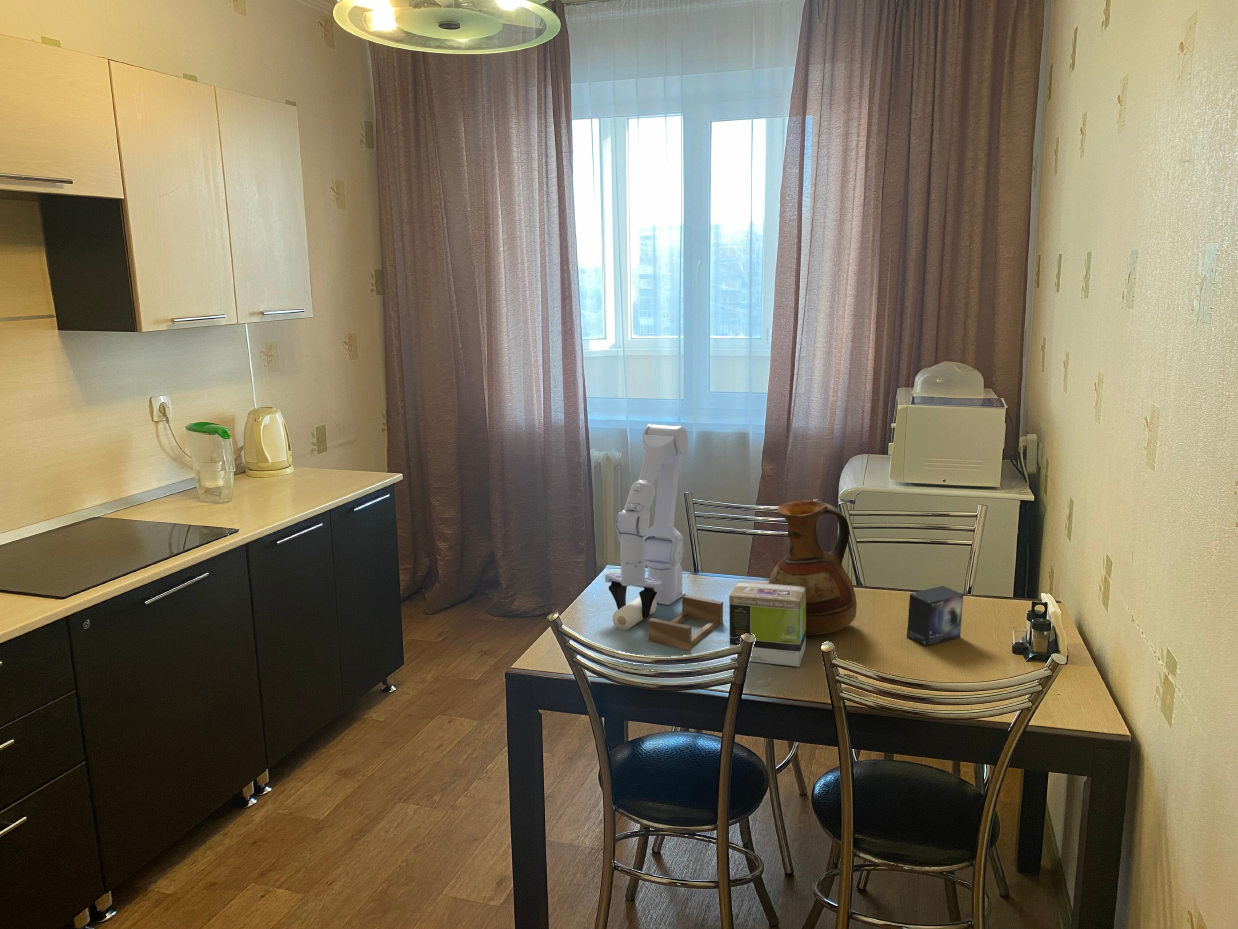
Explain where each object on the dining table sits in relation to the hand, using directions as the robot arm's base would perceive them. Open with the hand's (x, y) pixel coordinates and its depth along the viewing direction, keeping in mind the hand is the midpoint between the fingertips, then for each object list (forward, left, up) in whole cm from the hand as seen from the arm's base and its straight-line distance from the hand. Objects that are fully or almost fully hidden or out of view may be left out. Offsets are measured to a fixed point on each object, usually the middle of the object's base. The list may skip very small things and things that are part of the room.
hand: (633, 614), depth 214 cm
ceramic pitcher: (-16, +38, -2) cm, 41 cm away
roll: (0, 0, +1) cm, 1 cm away
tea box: (+3, +35, -2) cm, 35 cm away
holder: (0, +14, -1) cm, 14 cm away
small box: (-23, +64, -2) cm, 68 cm away
